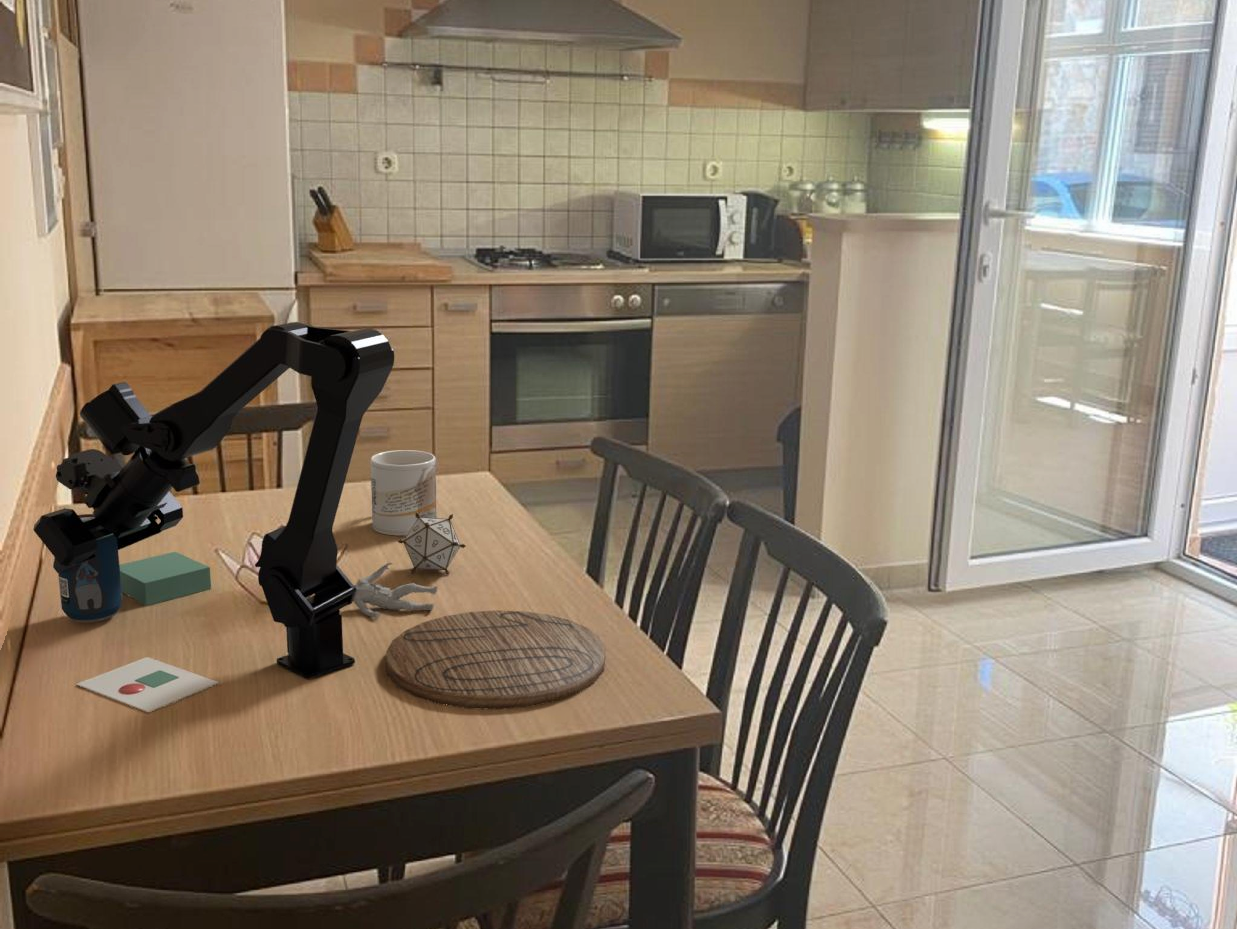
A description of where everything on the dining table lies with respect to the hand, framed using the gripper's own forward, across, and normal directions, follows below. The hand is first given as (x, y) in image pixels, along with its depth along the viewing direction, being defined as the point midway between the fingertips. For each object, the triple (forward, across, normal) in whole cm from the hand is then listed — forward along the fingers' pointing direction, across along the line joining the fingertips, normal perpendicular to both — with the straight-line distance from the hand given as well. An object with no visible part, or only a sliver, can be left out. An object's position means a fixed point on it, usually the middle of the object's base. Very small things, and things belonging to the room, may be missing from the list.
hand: (79, 561), depth 153 cm
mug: (-5, -51, +16) cm, 53 cm away
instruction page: (-10, +12, +20) cm, 26 cm away
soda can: (+4, 0, +6) cm, 7 cm away
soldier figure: (-17, -18, +28) cm, 38 cm away
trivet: (-31, -9, +43) cm, 54 cm away
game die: (-15, -34, +26) cm, 45 cm away
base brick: (+4, -12, +6) cm, 14 cm away
